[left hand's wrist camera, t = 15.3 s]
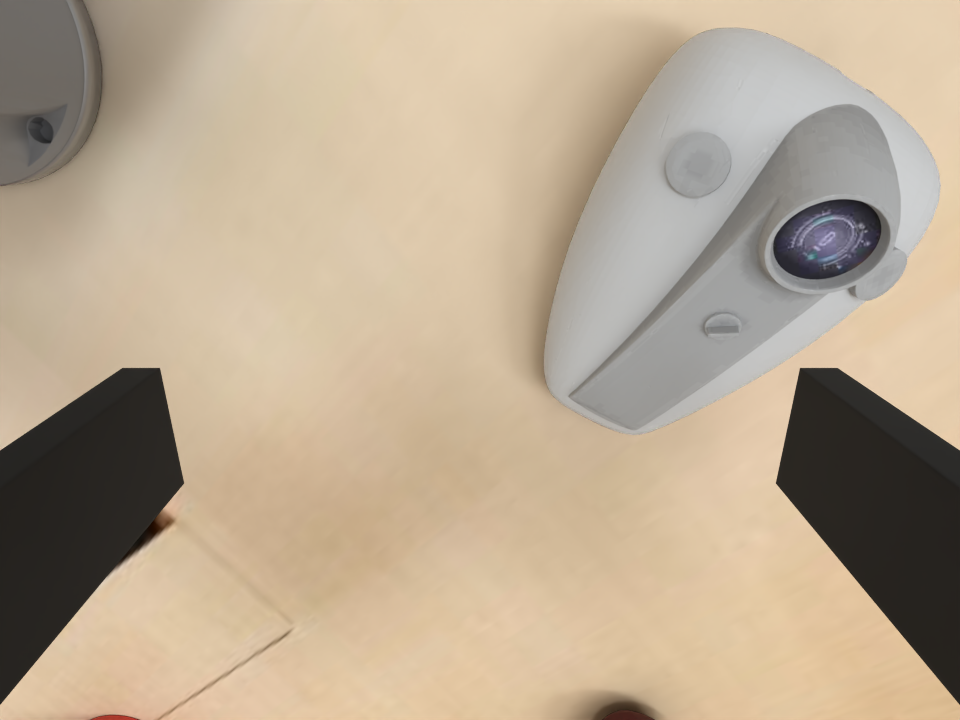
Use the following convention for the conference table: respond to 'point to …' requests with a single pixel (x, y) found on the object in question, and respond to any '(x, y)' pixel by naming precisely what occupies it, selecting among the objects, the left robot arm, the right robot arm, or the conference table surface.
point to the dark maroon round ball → (627, 716)
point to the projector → (731, 229)
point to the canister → (114, 718)
